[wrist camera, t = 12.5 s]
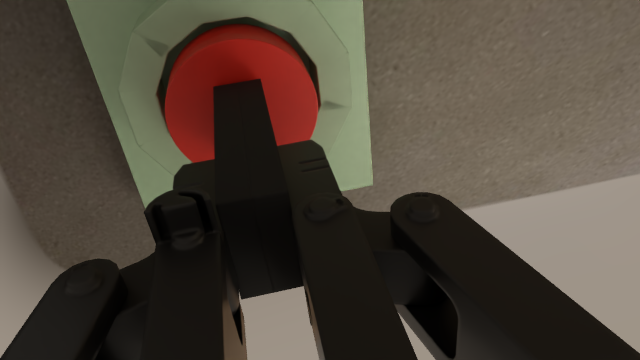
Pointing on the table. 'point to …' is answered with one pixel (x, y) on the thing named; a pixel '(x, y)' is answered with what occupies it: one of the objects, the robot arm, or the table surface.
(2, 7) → the table surface
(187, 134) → the button
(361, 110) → the button block
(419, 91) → the table surface
